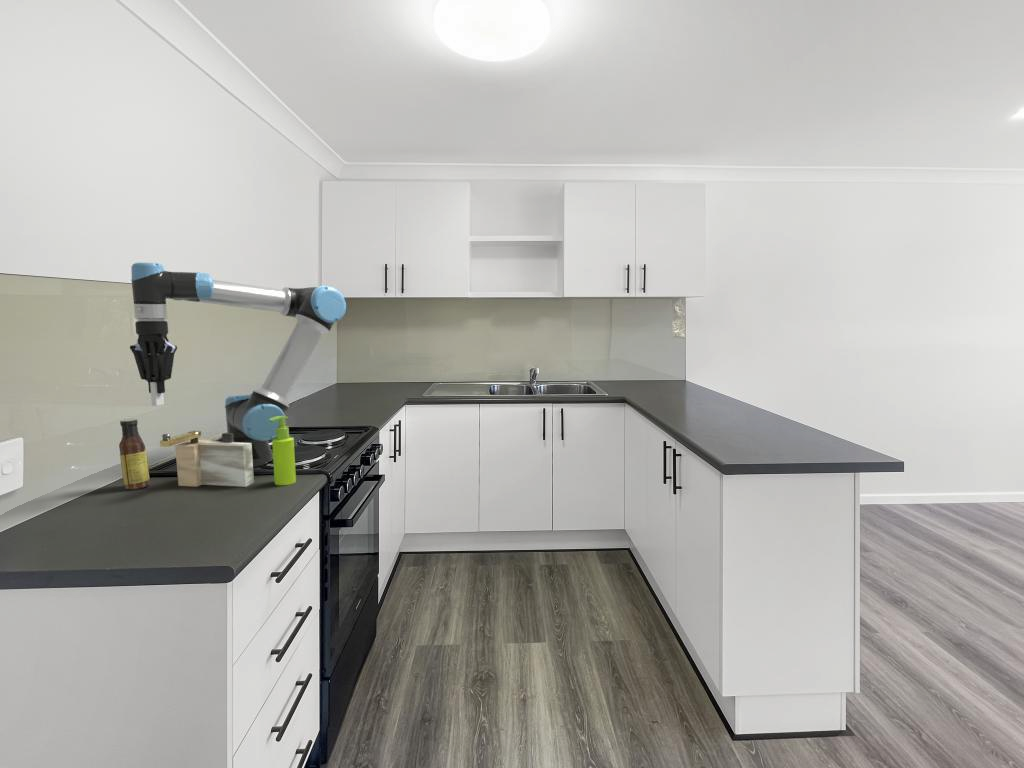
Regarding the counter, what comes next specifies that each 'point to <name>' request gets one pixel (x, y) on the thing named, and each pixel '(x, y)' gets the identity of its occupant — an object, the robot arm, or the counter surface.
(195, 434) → the swing bar
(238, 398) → the robot arm
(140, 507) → the counter surface
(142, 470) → the sauce bottle
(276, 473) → the soap dispenser
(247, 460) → the door frame
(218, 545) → the counter surface
